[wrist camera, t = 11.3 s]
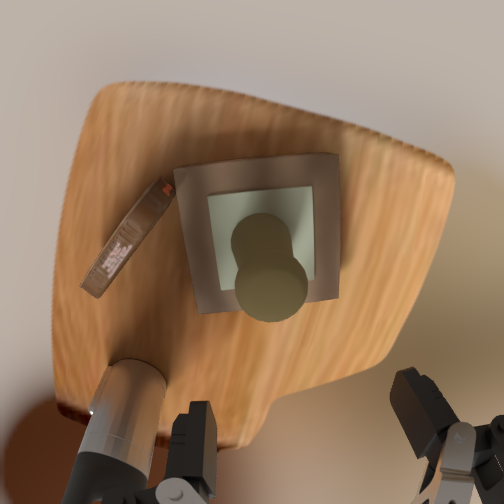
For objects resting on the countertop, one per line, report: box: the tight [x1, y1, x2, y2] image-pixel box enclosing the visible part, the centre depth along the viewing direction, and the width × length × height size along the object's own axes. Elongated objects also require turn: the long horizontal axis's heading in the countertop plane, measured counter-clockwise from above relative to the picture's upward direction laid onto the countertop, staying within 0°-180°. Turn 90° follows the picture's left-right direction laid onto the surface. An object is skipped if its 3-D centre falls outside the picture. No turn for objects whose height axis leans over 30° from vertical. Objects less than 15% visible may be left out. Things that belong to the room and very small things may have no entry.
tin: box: [79, 176, 176, 299], centre depth 28 cm, size 15×3×8 cm, turn 136°
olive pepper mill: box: [231, 213, 308, 322], centre depth 24 cm, size 6×6×11 cm
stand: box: [173, 153, 340, 314], centre depth 31 cm, size 16×16×4 cm
